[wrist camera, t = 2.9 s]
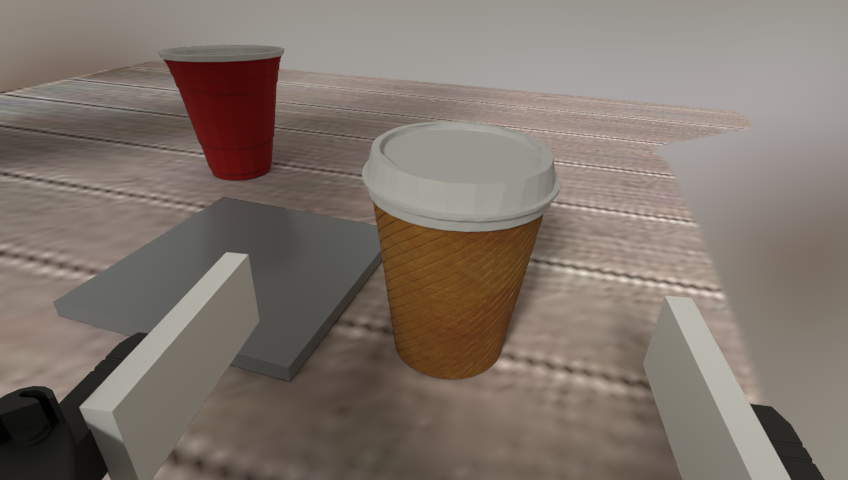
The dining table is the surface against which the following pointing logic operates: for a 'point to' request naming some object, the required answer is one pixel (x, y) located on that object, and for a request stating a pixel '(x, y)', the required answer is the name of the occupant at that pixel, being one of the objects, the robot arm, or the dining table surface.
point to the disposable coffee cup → (456, 236)
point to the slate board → (271, 272)
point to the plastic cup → (229, 103)
